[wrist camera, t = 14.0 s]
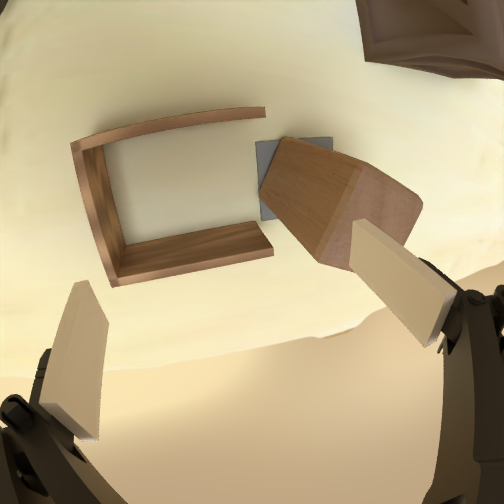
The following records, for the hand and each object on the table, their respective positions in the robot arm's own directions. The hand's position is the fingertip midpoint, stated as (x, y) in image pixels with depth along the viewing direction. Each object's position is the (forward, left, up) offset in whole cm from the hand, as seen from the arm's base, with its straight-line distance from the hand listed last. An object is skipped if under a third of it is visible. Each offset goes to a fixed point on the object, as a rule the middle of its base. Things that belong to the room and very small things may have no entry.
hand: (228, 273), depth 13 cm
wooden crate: (-28, +40, -29) cm, 57 cm away
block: (+4, +15, -28) cm, 32 cm away
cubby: (+2, -2, -28) cm, 29 cm away
